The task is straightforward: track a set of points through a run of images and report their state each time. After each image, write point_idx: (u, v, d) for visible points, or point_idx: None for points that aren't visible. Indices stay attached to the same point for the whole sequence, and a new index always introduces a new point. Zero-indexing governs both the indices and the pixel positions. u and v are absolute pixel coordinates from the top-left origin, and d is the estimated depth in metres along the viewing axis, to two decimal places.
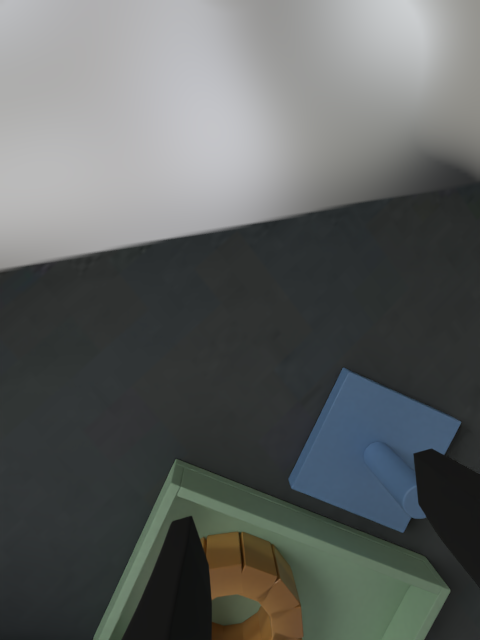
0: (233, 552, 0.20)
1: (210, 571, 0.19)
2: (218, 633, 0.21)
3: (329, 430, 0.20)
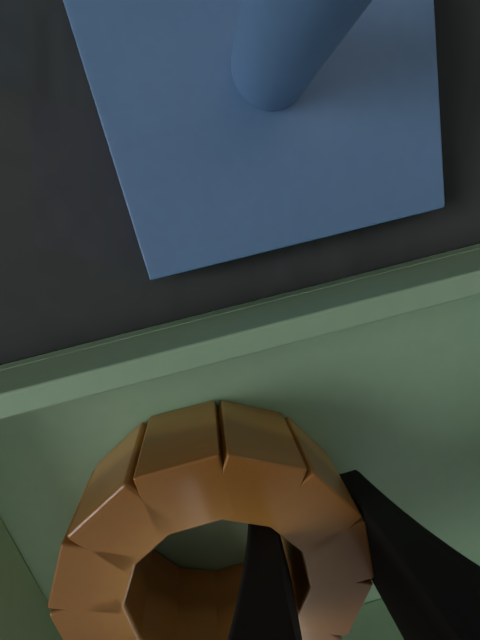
0: (120, 466, 0.09)
1: (77, 533, 0.08)
2: None
3: (116, 88, 0.07)
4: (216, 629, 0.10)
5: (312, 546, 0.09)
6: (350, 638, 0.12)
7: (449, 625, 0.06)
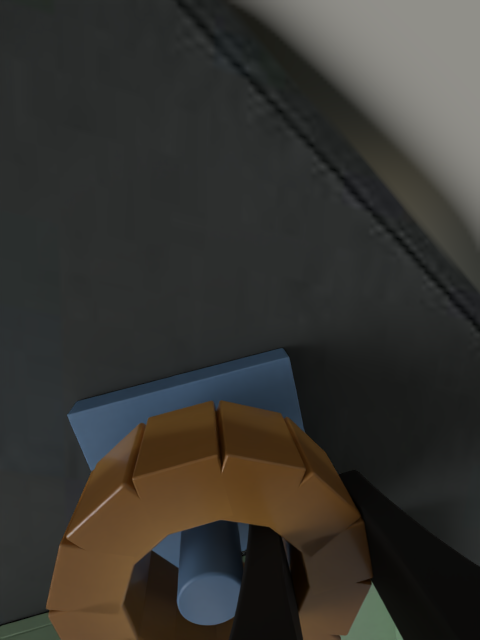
0: (119, 467, 0.08)
1: (76, 534, 0.08)
2: None
3: None
4: (215, 630, 0.10)
5: (311, 546, 0.09)
6: None
7: (448, 625, 0.06)
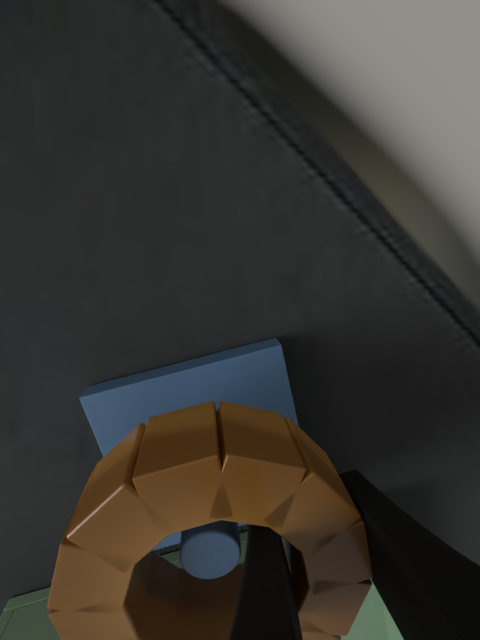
0: (119, 467, 0.08)
1: (76, 534, 0.08)
2: None
3: None
4: (215, 630, 0.10)
5: (311, 546, 0.09)
6: None
7: (449, 625, 0.06)
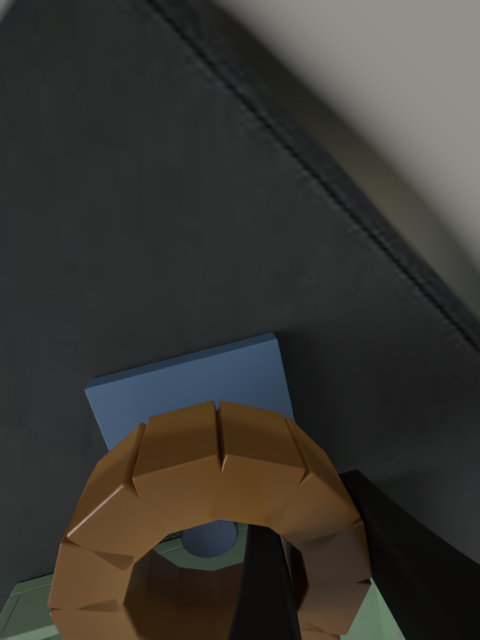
0: (119, 466, 0.09)
1: (76, 533, 0.08)
2: None
3: None
4: (215, 628, 0.10)
5: (311, 546, 0.09)
6: None
7: (451, 624, 0.06)
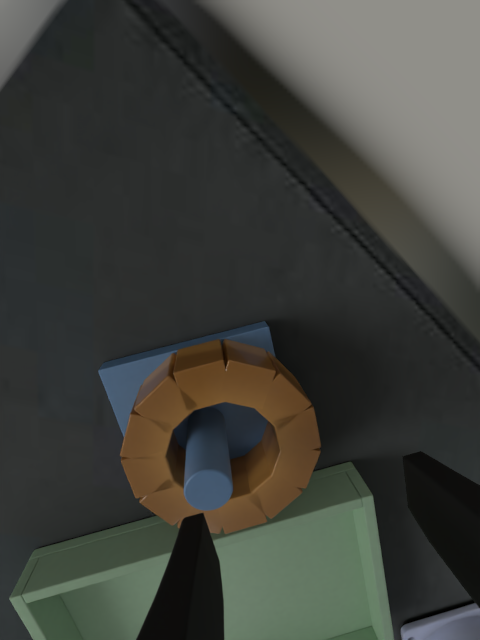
0: (163, 372, 0.14)
1: (140, 407, 0.13)
2: (238, 465, 0.17)
3: None
4: None
5: (281, 422, 0.14)
6: None
7: None
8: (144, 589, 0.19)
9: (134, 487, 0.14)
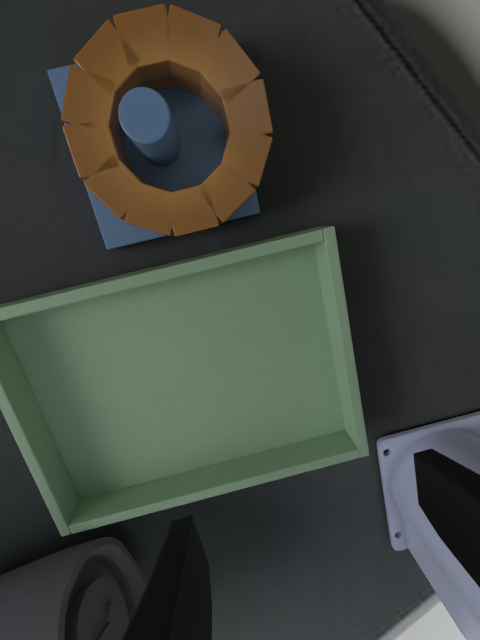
0: None
1: (79, 57, 0.13)
2: None
3: None
4: None
5: (228, 93, 0.14)
6: (232, 469, 0.20)
7: None
8: (104, 358, 0.19)
9: (77, 162, 0.14)
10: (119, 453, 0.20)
